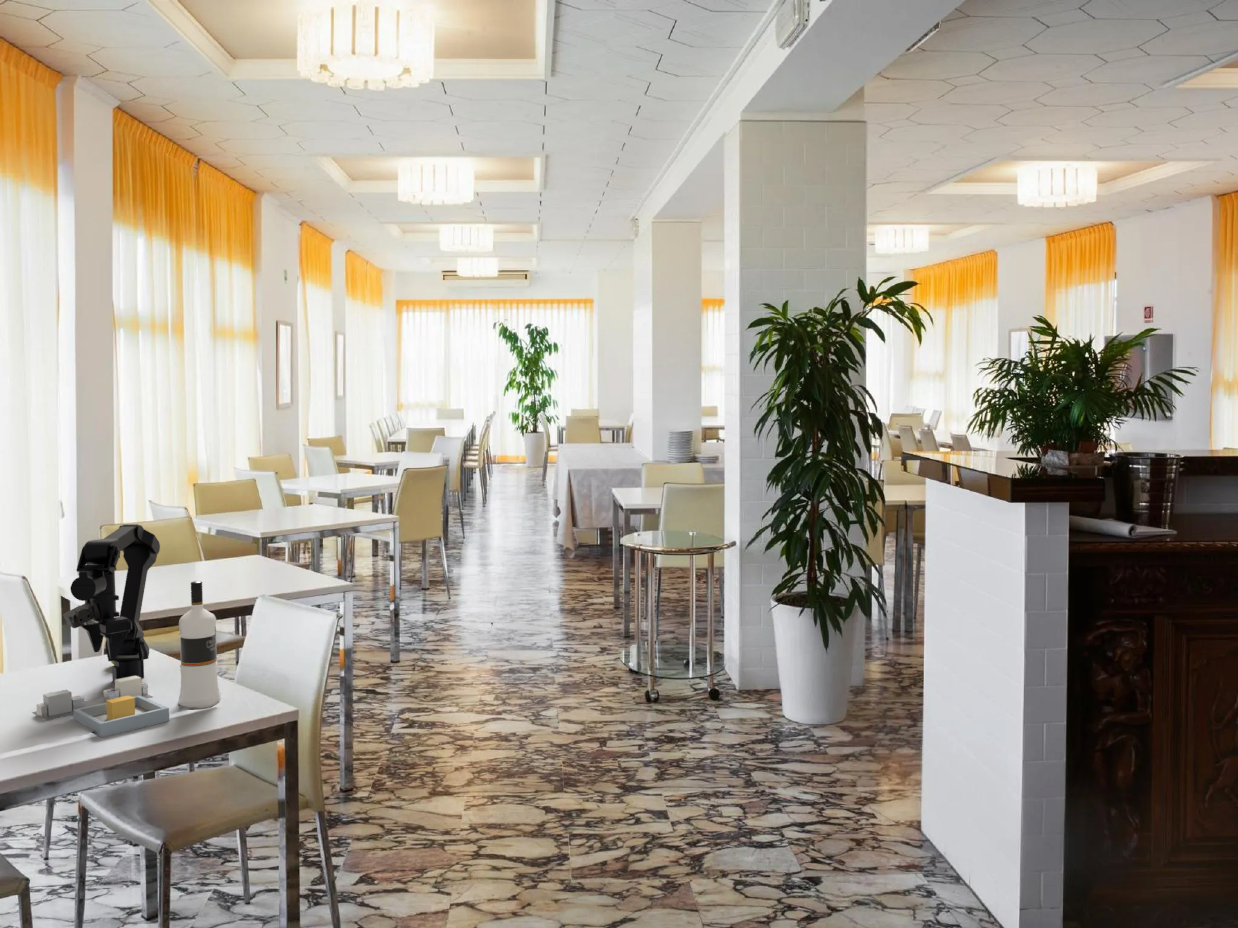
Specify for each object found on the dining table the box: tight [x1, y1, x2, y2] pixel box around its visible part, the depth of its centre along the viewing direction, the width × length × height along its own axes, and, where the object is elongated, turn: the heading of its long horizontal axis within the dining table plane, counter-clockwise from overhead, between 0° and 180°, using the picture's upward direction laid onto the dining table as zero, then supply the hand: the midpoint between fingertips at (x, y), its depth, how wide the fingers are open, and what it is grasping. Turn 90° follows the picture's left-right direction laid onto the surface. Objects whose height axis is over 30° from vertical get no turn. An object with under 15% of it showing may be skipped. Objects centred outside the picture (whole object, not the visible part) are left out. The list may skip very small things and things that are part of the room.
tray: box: [72, 695, 170, 738], centre depth 231 cm, size 15×15×3 cm
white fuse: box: [114, 676, 142, 697], centre depth 247 cm, size 5×3×4 cm, turn 139°
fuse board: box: [31, 681, 154, 721], centre depth 241 cm, size 24×9×4 cm, turn 139°
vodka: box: [178, 580, 221, 711], centre depth 243 cm, size 9×9×30 cm
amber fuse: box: [106, 695, 136, 721], centre depth 231 cm, size 5×3×4 cm, turn 139°
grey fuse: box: [42, 689, 73, 716], centre depth 235 cm, size 5×3×4 cm, turn 139°
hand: (104, 655), depth 248 cm, fingers open, 9 cm apart
